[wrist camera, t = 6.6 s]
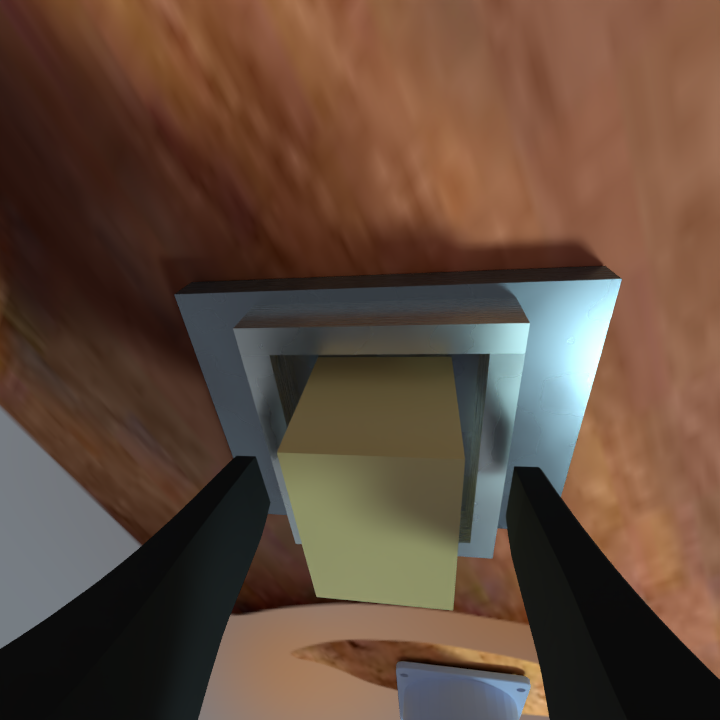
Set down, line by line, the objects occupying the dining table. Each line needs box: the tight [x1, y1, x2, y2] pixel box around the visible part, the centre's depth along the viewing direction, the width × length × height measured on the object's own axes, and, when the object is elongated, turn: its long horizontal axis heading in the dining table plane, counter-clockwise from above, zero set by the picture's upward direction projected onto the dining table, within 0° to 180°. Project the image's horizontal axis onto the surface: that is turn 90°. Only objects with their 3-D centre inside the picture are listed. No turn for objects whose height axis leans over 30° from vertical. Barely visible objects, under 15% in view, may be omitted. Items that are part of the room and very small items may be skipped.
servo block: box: [277, 357, 465, 610], centre depth 11 cm, size 6×4×4 cm, turn 5°
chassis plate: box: [174, 266, 622, 558], centre depth 13 cm, size 10×12×2 cm
